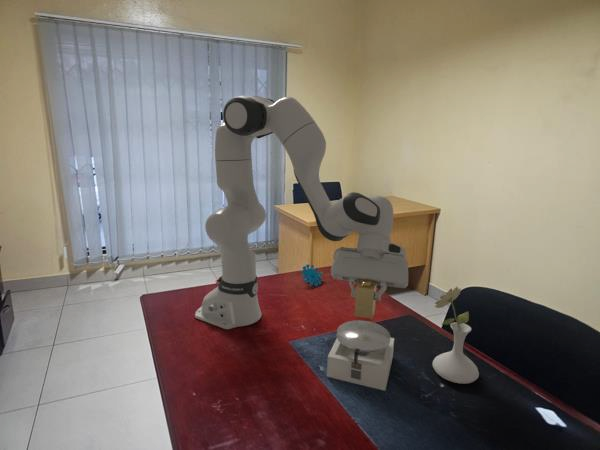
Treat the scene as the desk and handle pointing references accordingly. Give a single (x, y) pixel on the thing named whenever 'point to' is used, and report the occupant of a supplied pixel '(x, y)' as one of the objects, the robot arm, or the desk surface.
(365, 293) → the brass weight
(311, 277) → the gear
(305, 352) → the desk surface
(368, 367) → the base
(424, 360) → the desk surface
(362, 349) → the scale pan
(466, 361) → the flower in vase
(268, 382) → the desk surface
